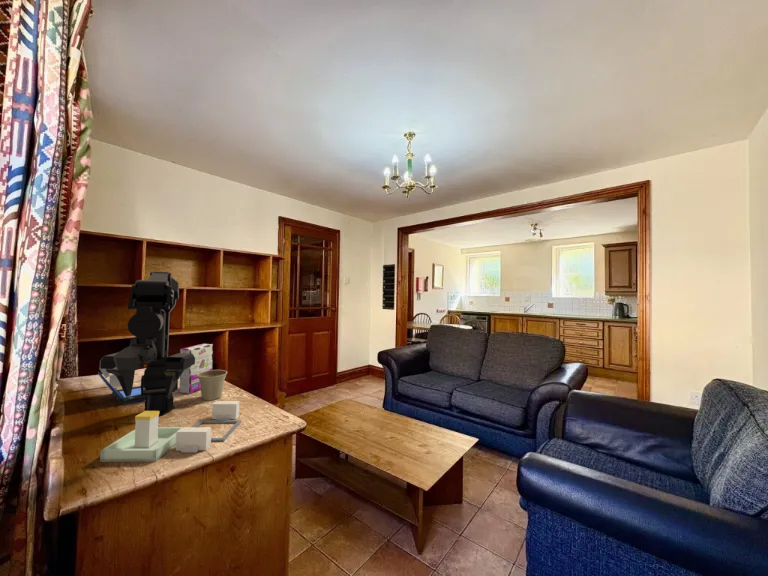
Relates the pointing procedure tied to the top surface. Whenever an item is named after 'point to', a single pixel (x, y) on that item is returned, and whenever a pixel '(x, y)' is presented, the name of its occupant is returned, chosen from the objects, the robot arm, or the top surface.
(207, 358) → the candy bar box
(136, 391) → the handheld game console
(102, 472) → the top surface
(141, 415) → the yellow-capped grey block
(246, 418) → the top surface
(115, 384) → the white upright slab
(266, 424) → the top surface
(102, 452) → the tray
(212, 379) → the flower pot
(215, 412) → the headphones
